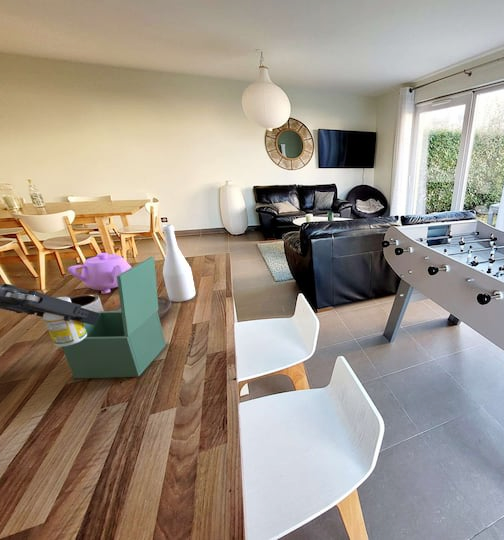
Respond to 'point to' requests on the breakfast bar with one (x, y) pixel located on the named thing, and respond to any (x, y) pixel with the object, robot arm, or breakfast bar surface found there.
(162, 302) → the plant saucer
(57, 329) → the supplement bottle
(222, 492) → the breakfast bar surface
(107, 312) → the green open box
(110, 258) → the teapot
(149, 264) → the lid
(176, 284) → the wine bottle
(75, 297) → the planter
